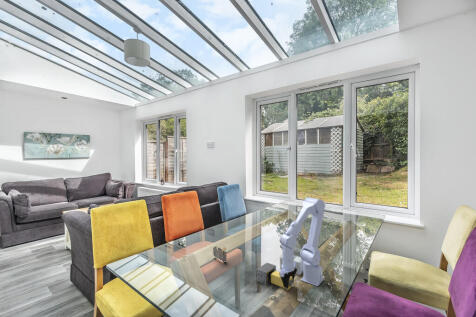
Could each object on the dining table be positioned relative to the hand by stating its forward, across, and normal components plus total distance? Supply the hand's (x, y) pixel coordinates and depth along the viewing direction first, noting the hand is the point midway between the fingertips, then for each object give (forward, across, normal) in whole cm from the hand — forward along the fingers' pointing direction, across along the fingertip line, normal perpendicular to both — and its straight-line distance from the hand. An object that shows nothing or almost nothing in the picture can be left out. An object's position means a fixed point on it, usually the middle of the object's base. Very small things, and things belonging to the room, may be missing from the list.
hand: (288, 285), depth 114 cm
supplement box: (-2, -18, -13) cm, 22 cm away
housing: (+1, 0, -13) cm, 13 cm away
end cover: (+1, 0, -4) cm, 4 cm away
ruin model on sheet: (+2, -1, -50) cm, 50 cm away
